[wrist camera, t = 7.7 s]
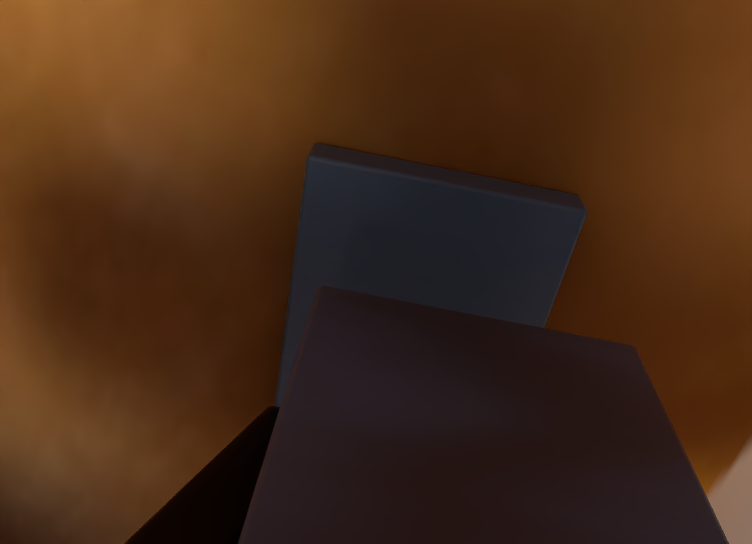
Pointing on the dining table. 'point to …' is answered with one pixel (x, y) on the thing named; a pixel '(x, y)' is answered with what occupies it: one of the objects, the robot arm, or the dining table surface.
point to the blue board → (426, 240)
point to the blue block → (469, 437)
